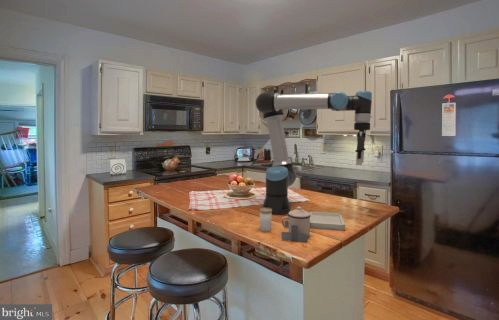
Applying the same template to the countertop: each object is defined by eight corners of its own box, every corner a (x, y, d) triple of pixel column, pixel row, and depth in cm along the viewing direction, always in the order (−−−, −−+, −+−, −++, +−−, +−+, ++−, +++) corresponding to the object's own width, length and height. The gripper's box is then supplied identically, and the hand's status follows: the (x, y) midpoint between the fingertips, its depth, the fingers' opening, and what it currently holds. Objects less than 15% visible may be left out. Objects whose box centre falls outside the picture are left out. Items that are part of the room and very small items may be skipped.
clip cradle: (281, 240, 109) (281, 225, 109) (285, 227, 124) (285, 214, 124) (307, 242, 107) (307, 227, 107) (307, 229, 122) (308, 215, 121)
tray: (309, 228, 123) (309, 222, 123) (309, 216, 141) (309, 211, 140) (344, 230, 120) (344, 225, 120) (340, 218, 137) (340, 213, 137)
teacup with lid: (310, 231, 119) (311, 205, 117) (309, 239, 110) (310, 211, 109) (282, 229, 122) (283, 203, 120) (279, 236, 113) (279, 208, 112)
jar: (258, 231, 119) (258, 210, 119) (260, 226, 125) (260, 207, 124) (270, 232, 118) (271, 211, 117) (272, 227, 123) (272, 207, 123)
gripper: (369, 121, 129) (366, 167, 131) (370, 123, 151) (368, 161, 153) (352, 121, 132) (349, 165, 134) (356, 123, 154) (354, 161, 156)
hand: (359, 163), depth 144 cm, fingers open, 13 cm apart
